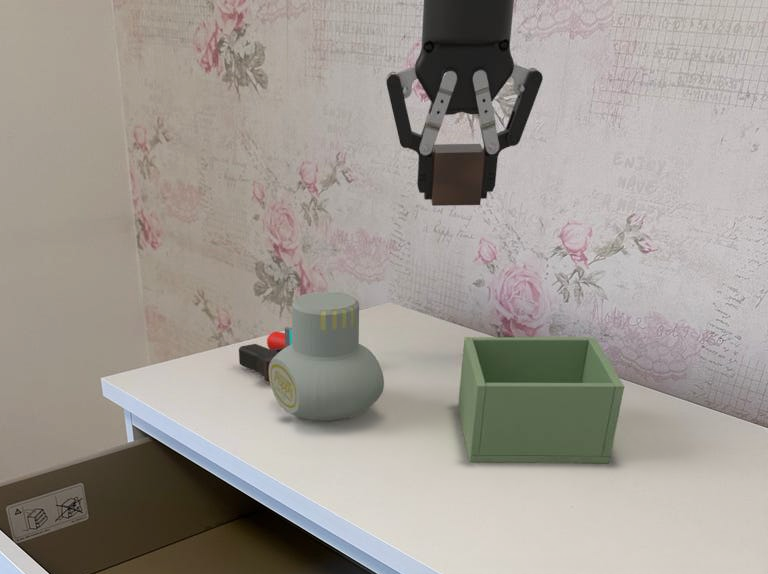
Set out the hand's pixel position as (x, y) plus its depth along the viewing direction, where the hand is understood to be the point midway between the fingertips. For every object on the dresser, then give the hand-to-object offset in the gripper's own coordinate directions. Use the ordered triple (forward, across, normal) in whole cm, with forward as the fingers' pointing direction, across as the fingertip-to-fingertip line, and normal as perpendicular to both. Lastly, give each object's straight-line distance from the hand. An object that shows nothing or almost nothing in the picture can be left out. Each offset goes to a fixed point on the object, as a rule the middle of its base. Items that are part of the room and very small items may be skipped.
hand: (454, 196), depth 89 cm
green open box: (+16, -6, +18) cm, 25 cm away
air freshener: (+16, +12, +14) cm, 24 cm away
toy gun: (+16, +15, +2) cm, 22 cm away
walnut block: (0, 0, 0) cm, 0 cm away
